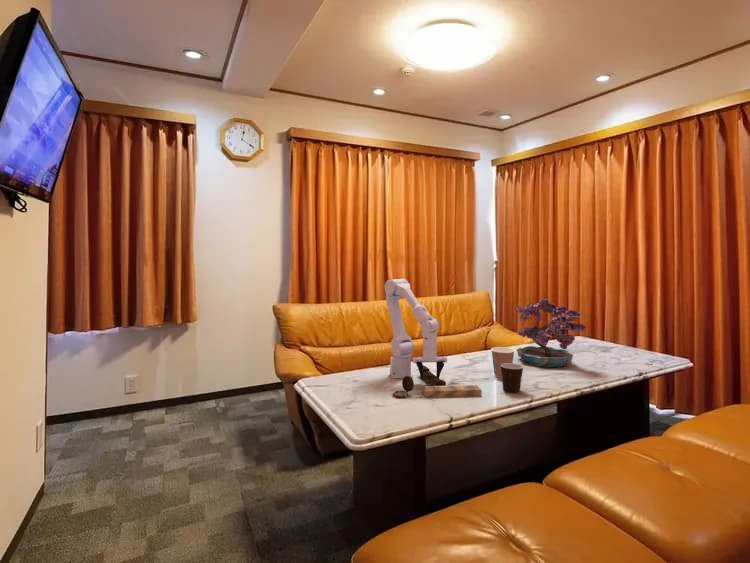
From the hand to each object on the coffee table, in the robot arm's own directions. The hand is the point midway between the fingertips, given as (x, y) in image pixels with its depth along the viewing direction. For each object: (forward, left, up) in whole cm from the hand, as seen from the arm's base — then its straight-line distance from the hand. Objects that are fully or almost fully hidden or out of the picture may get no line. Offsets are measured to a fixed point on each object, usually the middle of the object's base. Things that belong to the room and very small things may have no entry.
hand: (429, 379), depth 175 cm
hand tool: (0, +1, -2) cm, 2 cm away
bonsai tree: (+65, +27, -2) cm, 70 cm away
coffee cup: (+35, +9, -2) cm, 36 cm away
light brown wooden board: (+6, -14, -2) cm, 15 cm away
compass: (-13, -15, -2) cm, 20 cm away
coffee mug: (+30, -12, -2) cm, 32 cm away
